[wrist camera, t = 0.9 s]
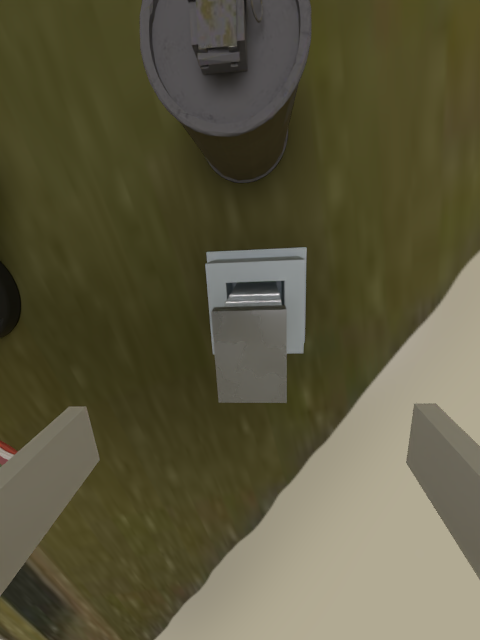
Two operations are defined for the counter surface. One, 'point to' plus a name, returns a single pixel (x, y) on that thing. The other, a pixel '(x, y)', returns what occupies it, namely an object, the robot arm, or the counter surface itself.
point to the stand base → (262, 266)
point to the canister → (228, 75)
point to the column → (251, 345)
